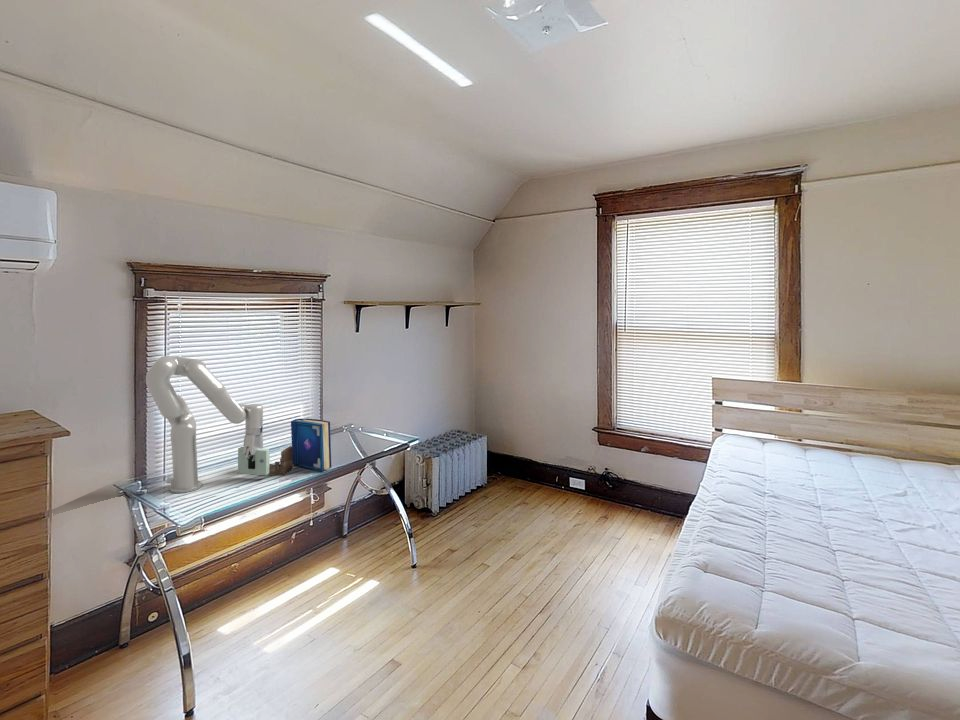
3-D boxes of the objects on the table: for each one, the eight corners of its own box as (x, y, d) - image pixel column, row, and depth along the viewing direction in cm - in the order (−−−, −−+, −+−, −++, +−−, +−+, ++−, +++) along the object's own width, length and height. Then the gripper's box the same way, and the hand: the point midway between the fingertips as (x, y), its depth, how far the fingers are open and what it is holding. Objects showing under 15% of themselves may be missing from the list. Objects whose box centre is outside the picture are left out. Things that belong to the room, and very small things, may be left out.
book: (289, 465, 251) (288, 418, 248) (299, 461, 258) (299, 416, 255) (322, 472, 243) (322, 424, 240) (332, 468, 250) (331, 421, 246)
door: (237, 473, 231) (237, 448, 229) (241, 470, 234) (241, 446, 233) (265, 475, 230) (265, 451, 228) (269, 473, 233) (269, 449, 232)
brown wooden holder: (247, 473, 239) (246, 449, 238) (257, 467, 248) (256, 444, 247) (284, 475, 238) (284, 451, 236) (292, 469, 247) (292, 446, 245)
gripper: (255, 425, 238) (255, 461, 240) (236, 433, 222) (236, 472, 224) (270, 426, 238) (269, 462, 240) (252, 435, 222) (251, 473, 224)
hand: (253, 467), depth 232 cm, fingers closed on door, 3 cm apart
